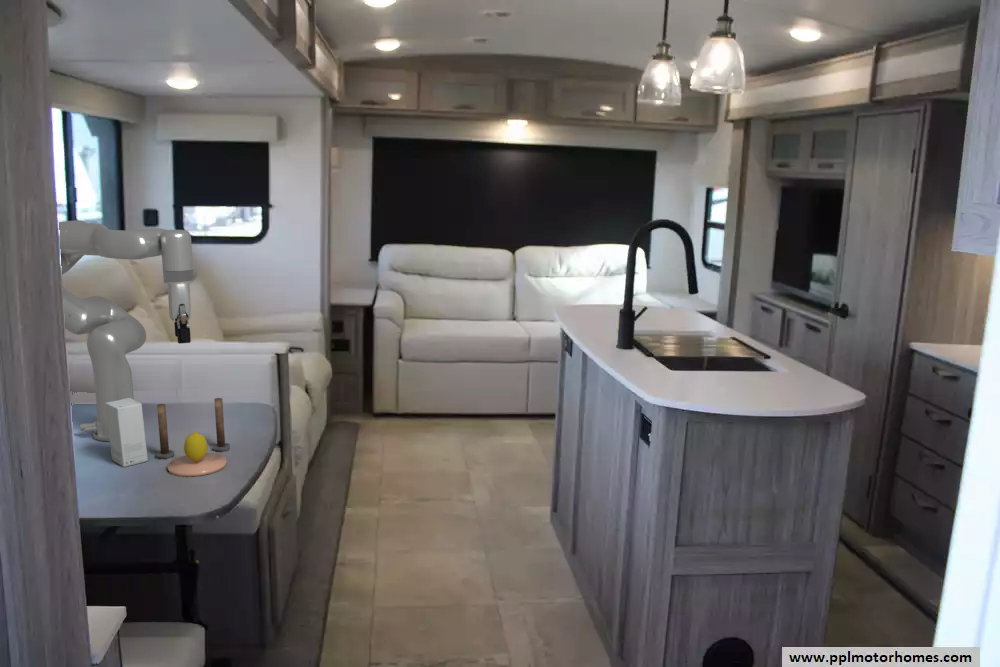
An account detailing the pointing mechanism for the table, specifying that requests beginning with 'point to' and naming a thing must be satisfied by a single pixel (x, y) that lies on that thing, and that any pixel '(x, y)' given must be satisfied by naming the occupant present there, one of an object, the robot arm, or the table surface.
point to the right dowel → (220, 427)
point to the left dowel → (163, 434)
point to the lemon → (195, 447)
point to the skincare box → (126, 432)
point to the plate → (197, 465)
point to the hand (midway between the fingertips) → (182, 339)
